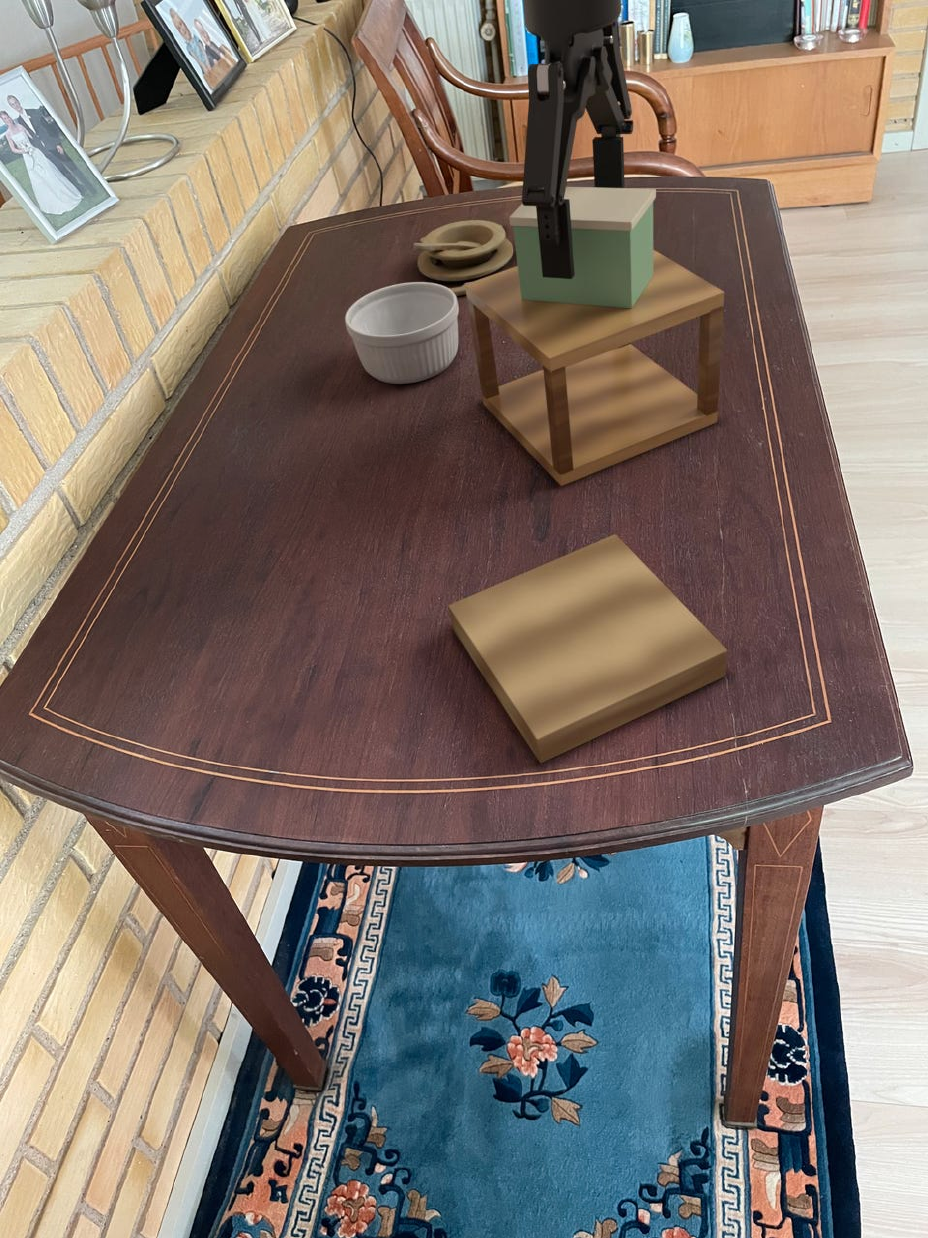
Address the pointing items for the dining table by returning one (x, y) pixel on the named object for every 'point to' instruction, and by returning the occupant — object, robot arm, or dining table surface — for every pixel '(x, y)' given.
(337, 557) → the dining table surface
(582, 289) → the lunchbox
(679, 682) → the wooden square board
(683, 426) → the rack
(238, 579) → the dining table surface
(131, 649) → the dining table surface
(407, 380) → the ramekin
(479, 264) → the tableware set
